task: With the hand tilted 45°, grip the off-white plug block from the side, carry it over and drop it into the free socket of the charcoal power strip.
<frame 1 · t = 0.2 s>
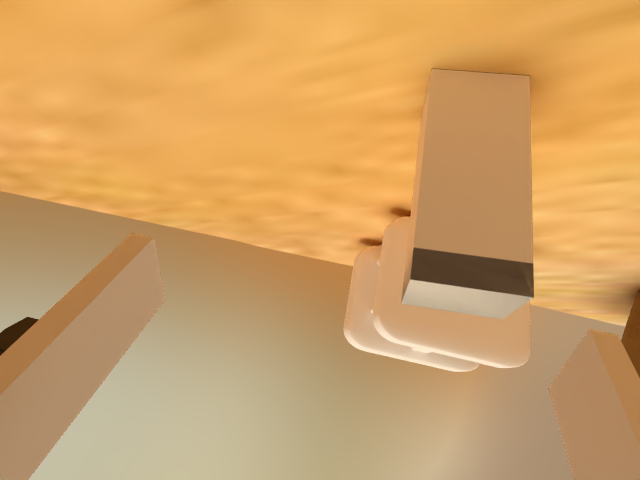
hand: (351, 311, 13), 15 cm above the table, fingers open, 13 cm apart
cable organizer: (439, 243, 43), on the table
plug: (470, 99, 24), on the table
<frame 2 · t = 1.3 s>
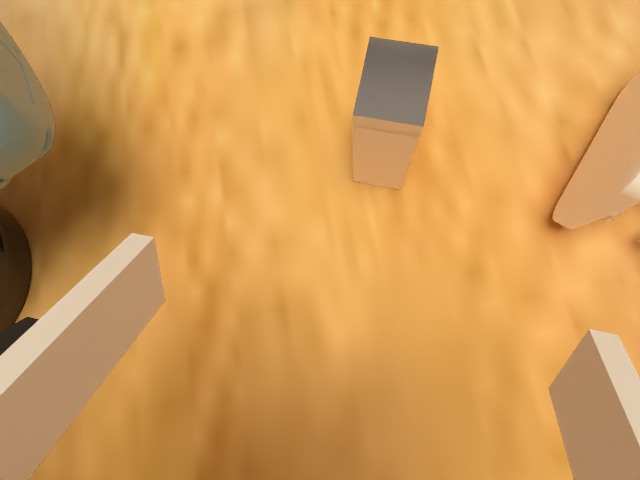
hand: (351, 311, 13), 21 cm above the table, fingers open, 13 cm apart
plug: (381, 157, 35), on the table
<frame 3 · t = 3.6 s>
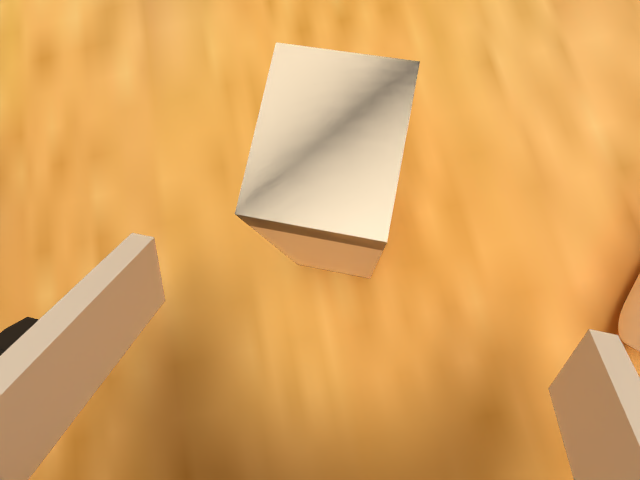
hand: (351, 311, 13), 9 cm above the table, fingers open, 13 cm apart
plug: (342, 226, 23), on the table
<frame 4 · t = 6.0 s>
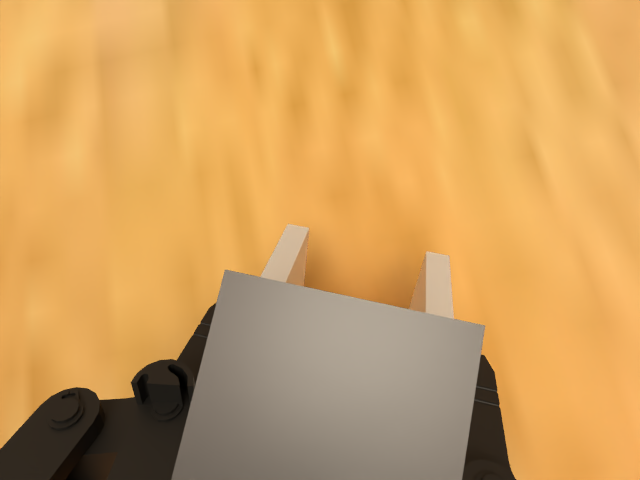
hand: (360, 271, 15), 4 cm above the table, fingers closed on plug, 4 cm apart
plug: (341, 367, 18), on the table, touching gripper
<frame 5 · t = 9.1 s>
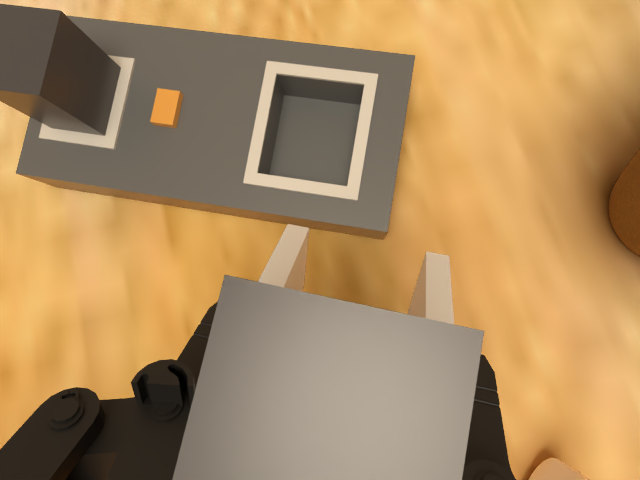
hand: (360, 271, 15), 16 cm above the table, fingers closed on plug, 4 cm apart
plug: (341, 369, 18), point 12 cm above the table, touching gripper
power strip: (228, 137, 32), on the table
when the fingers open (6 cm above the table, at t = 12.6 s): plug drops 2 cm, resting on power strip.
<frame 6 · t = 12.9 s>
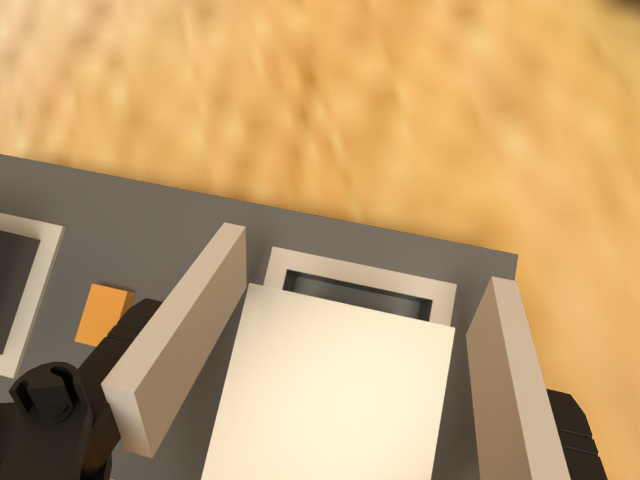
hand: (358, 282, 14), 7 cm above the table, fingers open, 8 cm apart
plug: (342, 365, 19), point 1 cm above the table, touching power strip
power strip: (209, 329, 21), on the table
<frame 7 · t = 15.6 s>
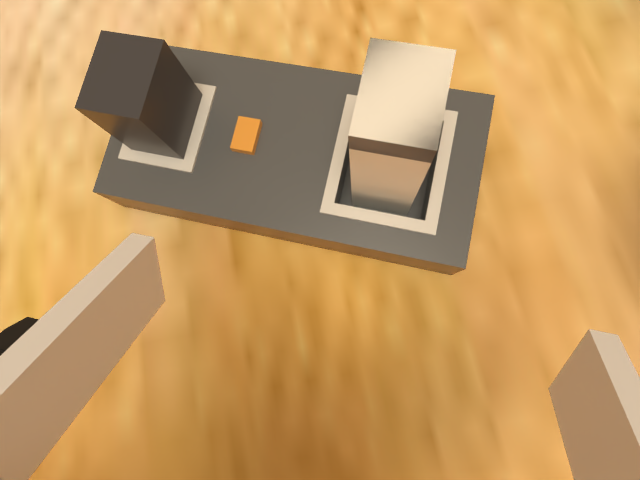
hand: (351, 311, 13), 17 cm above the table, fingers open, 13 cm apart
plug: (385, 178, 31), point 1 cm above the table, touching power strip
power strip: (297, 165, 32), on the table
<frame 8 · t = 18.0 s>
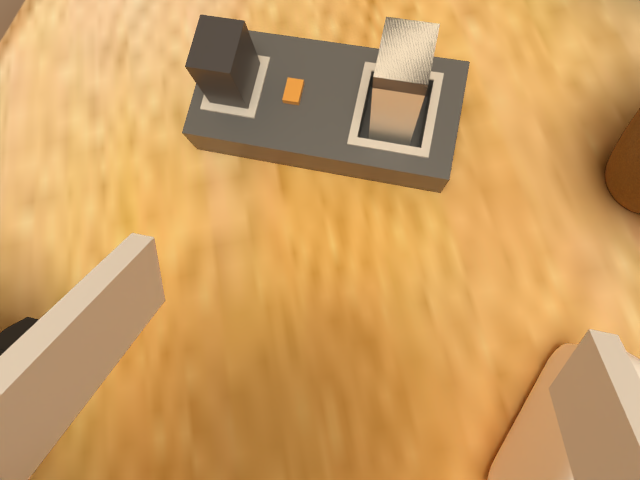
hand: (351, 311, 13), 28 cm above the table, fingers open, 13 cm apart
cable organizer: (571, 437, 37), on the table
plug: (392, 124, 42), point 1 cm above the table, touching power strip
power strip: (326, 117, 44), on the table
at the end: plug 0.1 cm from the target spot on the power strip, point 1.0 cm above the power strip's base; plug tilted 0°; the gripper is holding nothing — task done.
